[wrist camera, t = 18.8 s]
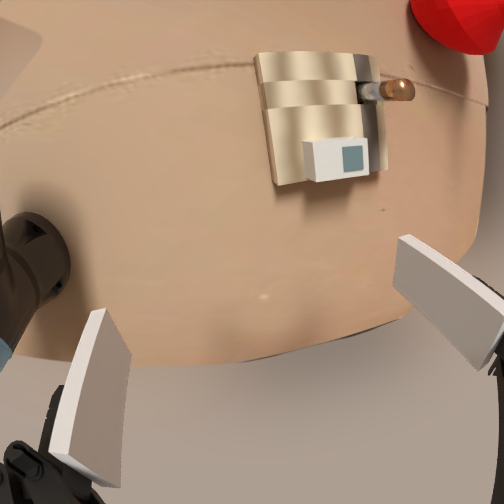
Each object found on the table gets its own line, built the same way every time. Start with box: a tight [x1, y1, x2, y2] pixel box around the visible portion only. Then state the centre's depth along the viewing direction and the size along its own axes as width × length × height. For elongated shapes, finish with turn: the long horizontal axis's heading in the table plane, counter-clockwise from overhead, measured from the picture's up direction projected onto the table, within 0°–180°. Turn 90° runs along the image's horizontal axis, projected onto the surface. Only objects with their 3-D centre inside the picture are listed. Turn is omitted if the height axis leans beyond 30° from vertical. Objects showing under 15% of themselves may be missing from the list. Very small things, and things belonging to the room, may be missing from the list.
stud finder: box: [302, 136, 369, 182], centre depth 34 cm, size 8×5×4 cm, turn 98°
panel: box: [253, 51, 388, 186], centre depth 34 cm, size 18×18×3 cm
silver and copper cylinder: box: [355, 79, 415, 102], centre depth 30 cm, size 3×3×12 cm
